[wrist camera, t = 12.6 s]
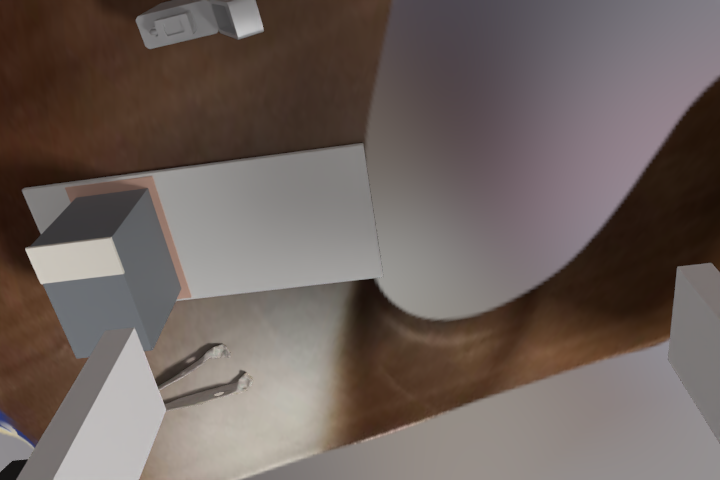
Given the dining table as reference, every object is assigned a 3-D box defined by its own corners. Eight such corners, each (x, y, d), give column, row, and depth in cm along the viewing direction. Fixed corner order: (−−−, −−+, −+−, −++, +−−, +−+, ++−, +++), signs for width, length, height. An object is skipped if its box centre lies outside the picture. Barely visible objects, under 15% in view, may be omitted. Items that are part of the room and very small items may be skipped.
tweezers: (224, 335, 50) (217, 352, 48) (258, 377, 52) (252, 394, 50) (59, 405, 55) (48, 423, 54) (96, 440, 57) (86, 458, 56)
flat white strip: (363, 142, 42) (363, 145, 41) (383, 274, 46) (383, 277, 46) (24, 187, 44) (20, 190, 43) (76, 309, 48) (74, 313, 48)
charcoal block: (182, 288, 47) (152, 351, 41) (114, 296, 47) (75, 359, 41) (148, 186, 43) (110, 238, 37) (74, 196, 43) (24, 249, 37)
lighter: (168, 33, 39) (123, 67, 32) (158, 3, 38) (108, 31, 31) (283, 6, 38) (262, 34, 31) (275, -25, 37) (251, -4, 30)
